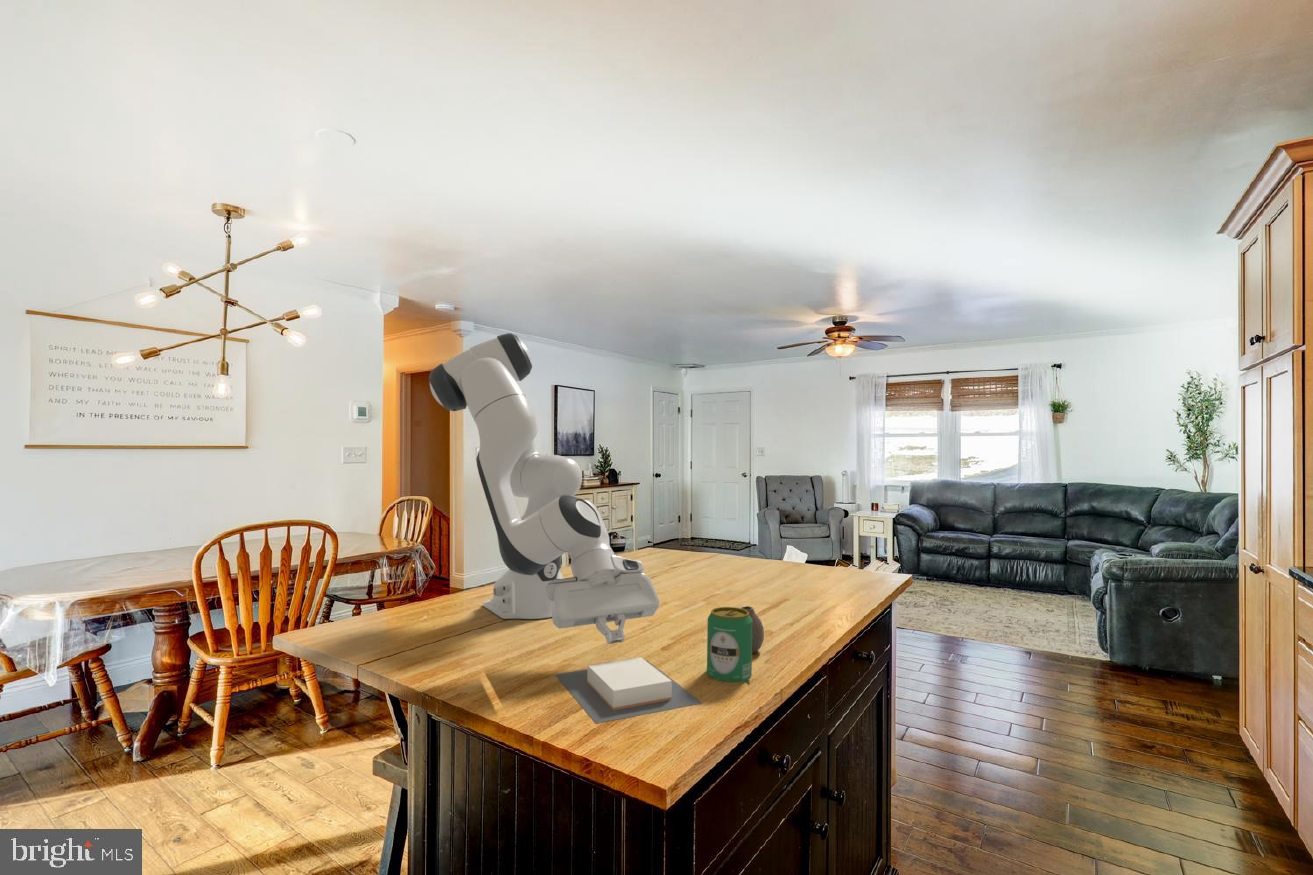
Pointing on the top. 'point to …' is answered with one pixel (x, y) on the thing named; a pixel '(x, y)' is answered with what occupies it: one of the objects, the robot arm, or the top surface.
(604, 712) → the mat
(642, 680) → the tile
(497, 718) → the top surface
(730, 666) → the beverage can
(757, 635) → the vase
